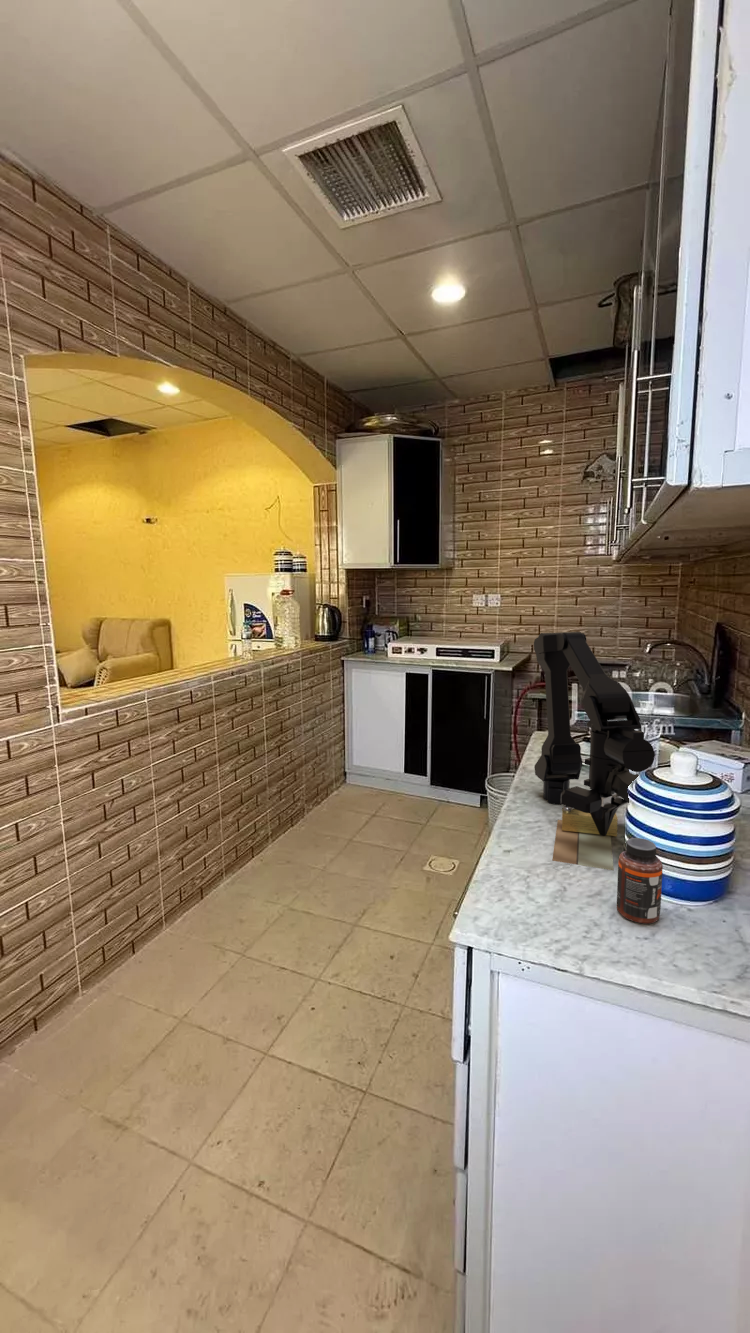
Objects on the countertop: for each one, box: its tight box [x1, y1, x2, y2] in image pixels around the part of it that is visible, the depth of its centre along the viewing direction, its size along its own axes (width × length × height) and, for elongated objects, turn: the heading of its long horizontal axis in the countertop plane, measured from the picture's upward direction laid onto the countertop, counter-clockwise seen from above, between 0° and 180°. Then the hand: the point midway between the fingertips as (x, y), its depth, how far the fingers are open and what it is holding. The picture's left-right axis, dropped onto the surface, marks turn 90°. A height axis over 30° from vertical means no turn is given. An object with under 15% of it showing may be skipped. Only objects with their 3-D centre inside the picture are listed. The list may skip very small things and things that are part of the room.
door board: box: [552, 819, 614, 871], centre depth 100 cm, size 18×10×1 cm, turn 158°
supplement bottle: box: [616, 837, 663, 924], centre depth 79 cm, size 6×6×11 cm
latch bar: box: [561, 805, 619, 837], centre depth 104 cm, size 10×3×4 cm, turn 72°
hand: (602, 835), depth 100 cm, fingers closed
